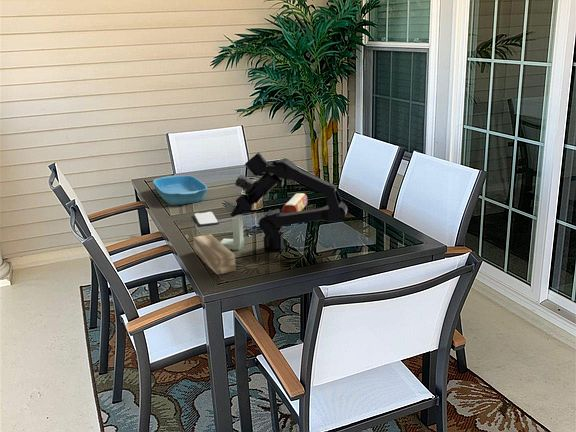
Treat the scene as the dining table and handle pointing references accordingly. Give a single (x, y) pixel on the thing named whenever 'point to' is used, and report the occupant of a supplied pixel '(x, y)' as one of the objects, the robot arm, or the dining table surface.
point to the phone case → (206, 219)
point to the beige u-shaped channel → (214, 254)
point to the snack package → (295, 203)
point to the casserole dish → (180, 189)
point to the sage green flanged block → (235, 234)
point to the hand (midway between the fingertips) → (234, 211)
